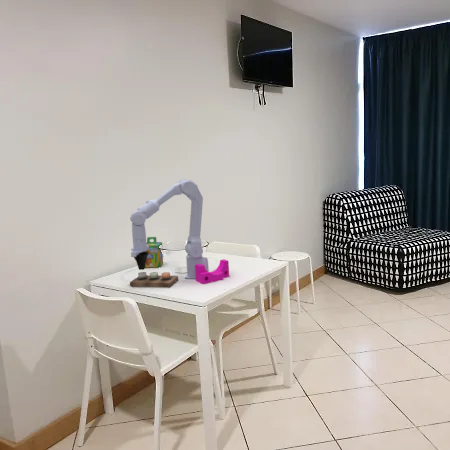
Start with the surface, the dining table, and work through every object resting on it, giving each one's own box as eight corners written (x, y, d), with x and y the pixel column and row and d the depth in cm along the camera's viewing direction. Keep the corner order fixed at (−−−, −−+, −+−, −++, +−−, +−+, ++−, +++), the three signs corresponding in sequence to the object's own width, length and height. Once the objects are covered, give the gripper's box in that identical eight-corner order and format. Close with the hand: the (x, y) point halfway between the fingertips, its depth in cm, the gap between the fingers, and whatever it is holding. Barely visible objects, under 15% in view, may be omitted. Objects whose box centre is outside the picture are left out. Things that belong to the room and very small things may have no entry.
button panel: (178, 280, 197) (178, 275, 196) (169, 287, 186) (169, 282, 186) (140, 279, 201) (140, 274, 201) (130, 286, 190) (129, 281, 190)
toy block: (202, 284, 189) (201, 267, 188) (195, 281, 194) (194, 264, 193) (232, 278, 197) (231, 261, 196) (224, 275, 202) (224, 259, 201)
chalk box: (142, 268, 221) (140, 239, 219) (146, 264, 230) (143, 236, 228) (160, 267, 221) (158, 238, 218) (163, 263, 230) (161, 235, 228)
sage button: (159, 275, 194) (159, 272, 194) (156, 277, 191) (156, 274, 191) (151, 275, 195) (151, 272, 195) (148, 277, 192) (148, 274, 192)
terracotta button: (171, 275, 193) (171, 272, 193) (168, 278, 190) (168, 274, 189) (163, 275, 194) (163, 272, 194) (160, 278, 191) (160, 274, 190)
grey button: (147, 275, 196) (147, 271, 195) (144, 277, 192) (144, 274, 192) (140, 275, 197) (140, 271, 196) (136, 277, 193) (136, 274, 193)
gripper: (137, 235, 200) (140, 265, 202) (123, 242, 186) (126, 273, 188) (152, 235, 198) (154, 265, 200) (138, 242, 184) (141, 273, 186)
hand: (141, 269), depth 194 cm, fingers closed
